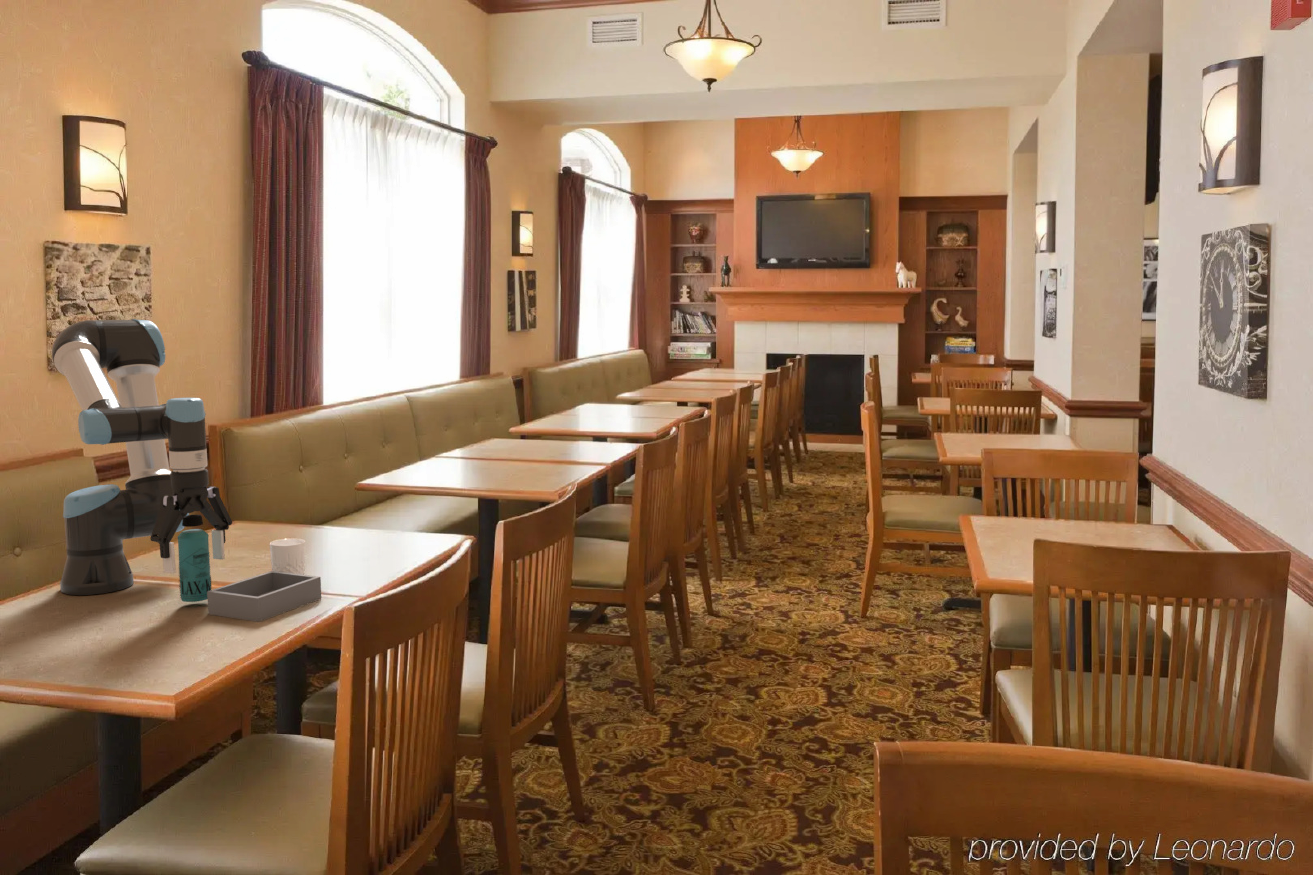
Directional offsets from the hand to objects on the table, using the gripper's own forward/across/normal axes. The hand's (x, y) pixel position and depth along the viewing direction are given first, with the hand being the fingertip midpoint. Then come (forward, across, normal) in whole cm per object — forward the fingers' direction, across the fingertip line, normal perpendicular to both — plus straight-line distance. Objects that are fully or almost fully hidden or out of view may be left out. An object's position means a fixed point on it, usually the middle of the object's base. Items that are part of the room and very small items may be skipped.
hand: (195, 565), depth 232 cm
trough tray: (+9, +5, -15) cm, 18 cm away
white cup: (+9, +22, -6) cm, 25 cm away
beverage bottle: (+9, 0, 0) cm, 9 cm away
